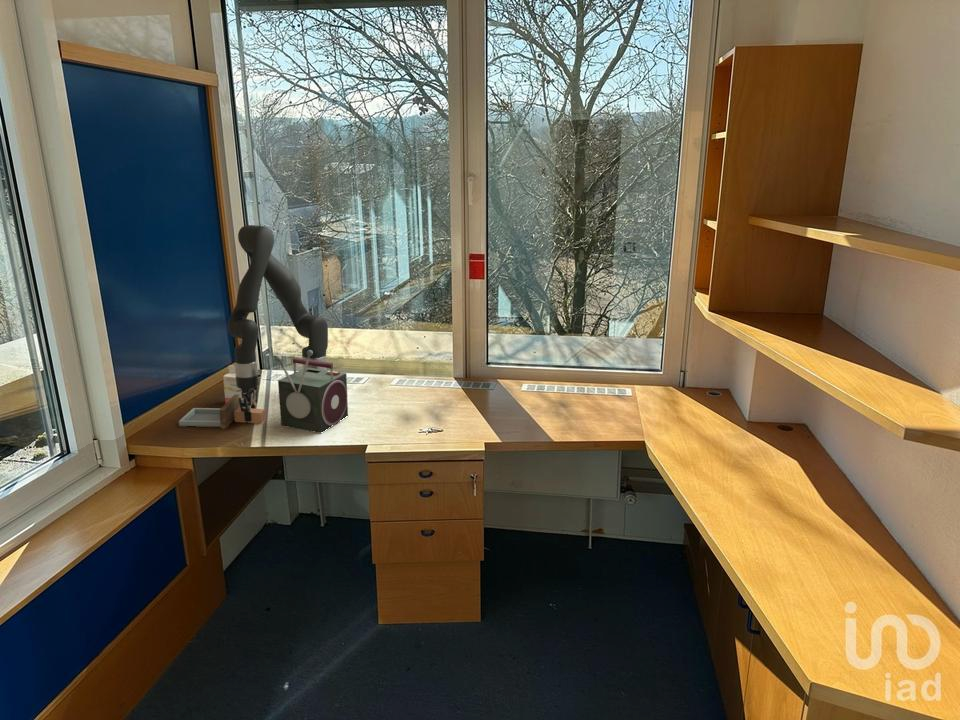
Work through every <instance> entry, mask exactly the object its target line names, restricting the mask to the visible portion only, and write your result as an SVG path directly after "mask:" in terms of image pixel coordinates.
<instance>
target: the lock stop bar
mask: <svg viewBox="0 0 960 720" xmlns="http://www.w3.org/2000/svg"><path fill="white" fill-rule="evenodd" d="M266 412H267V411H266V409H265V408H255V409H254V408H251V421H245V418H244V412H241V408H240V407H239V408H238V409H237V410H235V411H234V416H235V419H234V422H235V423H246V422H248V423H249V424H259V425H262V424H263V423H264V422H266V420H267V413H266ZM248 423H247V424H248Z"/></svg>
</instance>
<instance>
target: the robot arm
mask: <svg viewBox="0 0 960 720" xmlns="http://www.w3.org/2000/svg"><path fill="white" fill-rule="evenodd" d="M237 239H238V243H239V245H240V247H241V249H242V250H243V251H244V252H245V253H246V255H247V256H248V257H249V258H250V265H249V267H248V269H247V270H246V272H245V273H244V276H243V277H242V279H241V281H240V283H239V284H238V285H239V286H238V290H237V296H236V303H235V306H234V307H233V310H232V312H231V315H230V317H229V318H228V322H227V331H228V333H229V335H230V336H231V337H233V338H236V339H237V338H238V339H241V343H240V344H238V345H236V346H235V347H234V352H233V353H234V362H235V363H234V366H235V374H236V386H237V387H238V388H240V389H242V392H241V397H242V398H239V403H240V408H241V412H244V418H245V421H251V408H254V409H256V405H257V403H258V388H259V387H258V386H259V385H260V384H259V371H258V370H259V368H258V364H257V363H258V362H257V354H256V348H257V344H258V343H257V342H258V338H259V332H260V331H259V326H258V324H257V322H255V320H253V319H249V318H248V316H249V315H250V314H251V313H255V312H257V310H258V306H259V298H260V293H261V292H260V291H261V286H262V283H263V279H264V280H265V281H266V282H267V284H268V285H269V287H270V289H271V291H272V292H273V293H274V295H275V297H277V299H278V300H279V302H280V304H281V305H282V307H283V309H284V310H285V311H286V313H287V314H288V316H289V318H290V320H291V322H292V324H293V326H294V328H295V330H296V332H297V334H299V336H301V337H303V338H307V339H308V345H307V346H304V347H303V348H302V349H301V358H302V359H307V357H308V355H307V351H308V350H311V351H312V352H313V354H312V355H311V356H310V358H309V360H316V361H322V362H327V350H328V348H329V347H328V346H329V326H328V323H327V320H326V319H325V318H324V317H322V316H319V315H314V314H311V313H310V312H309V311H308V310H307V309H306V306H305V305H304V303H303V302H302V291H301V287H300V285H299V282H298V281H297V279H296V278H295V276H294V274H293V273H292V272H291V270H290V269H289V268H287V267H286V266H285V265H284V264H283V263H282V262H281V261H280V260H278V259H277V257H274V255H273V254H272V251H273V248H274V244H275V235H274V233H273V230H272V229H271V228H269V227H267V226H263V225H253V224H248V225H244V226H242V227H240V229H239V230H238V233H237ZM304 367H305V364H302V369H304ZM307 367H309V368H315V369H322V370H328V368H325V367H318V366H311V365H307Z"/></svg>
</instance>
